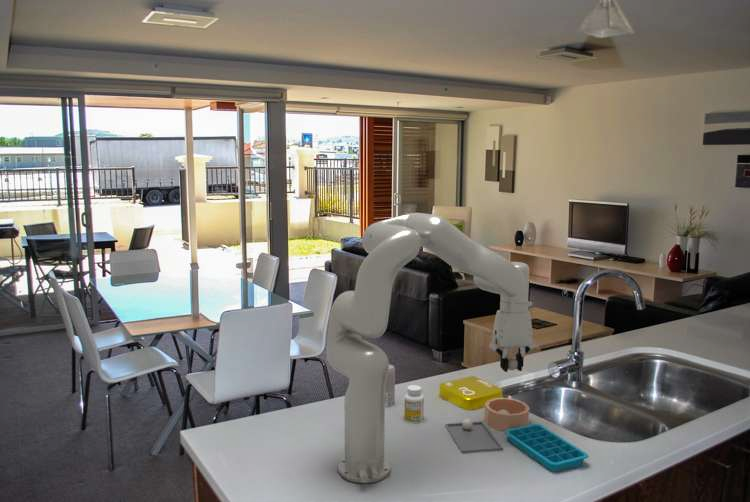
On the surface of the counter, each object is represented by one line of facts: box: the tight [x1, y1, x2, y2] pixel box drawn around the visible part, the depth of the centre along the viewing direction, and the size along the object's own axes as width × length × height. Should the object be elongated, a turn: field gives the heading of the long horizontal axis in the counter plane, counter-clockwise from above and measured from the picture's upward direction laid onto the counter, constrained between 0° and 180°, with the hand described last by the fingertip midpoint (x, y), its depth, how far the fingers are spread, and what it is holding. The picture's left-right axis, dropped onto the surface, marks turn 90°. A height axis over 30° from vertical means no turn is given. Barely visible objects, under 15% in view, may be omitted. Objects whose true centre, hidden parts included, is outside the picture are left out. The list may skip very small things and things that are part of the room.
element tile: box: [438, 375, 504, 411], centre depth 191 cm, size 15×15×5 cm
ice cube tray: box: [504, 423, 589, 472], centre depth 157 cm, size 12×20×3 cm, turn 24°
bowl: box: [483, 397, 530, 432], centre depth 174 cm, size 12×12×5 cm
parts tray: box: [444, 421, 504, 454], centre depth 165 cm, size 16×11×1 cm
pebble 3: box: [507, 357, 518, 371], centre depth 174 cm, size 4×4×4 cm
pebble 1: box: [461, 417, 474, 430], centre depth 169 cm, size 3×3×3 cm
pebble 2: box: [498, 410, 510, 414], centre depth 173 cm, size 4×4×4 cm
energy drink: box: [385, 363, 396, 408], centre depth 186 cm, size 5×5×12 cm
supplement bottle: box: [404, 384, 425, 424], centre depth 176 cm, size 5×5×10 cm
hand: (511, 369), depth 174 cm, fingers closed on pebble 3, 3 cm apart
